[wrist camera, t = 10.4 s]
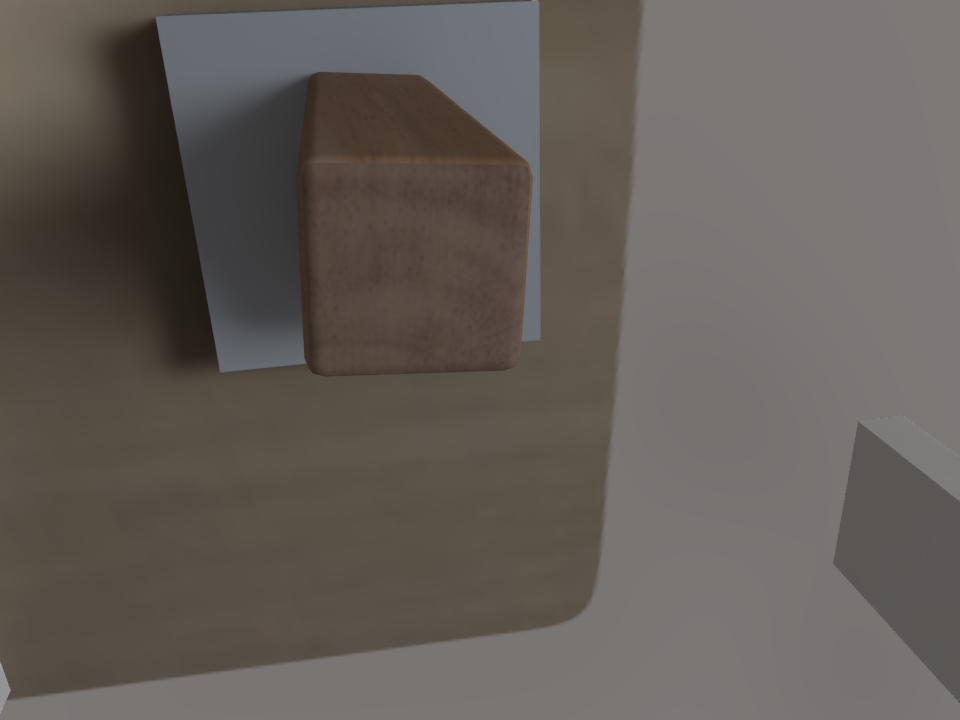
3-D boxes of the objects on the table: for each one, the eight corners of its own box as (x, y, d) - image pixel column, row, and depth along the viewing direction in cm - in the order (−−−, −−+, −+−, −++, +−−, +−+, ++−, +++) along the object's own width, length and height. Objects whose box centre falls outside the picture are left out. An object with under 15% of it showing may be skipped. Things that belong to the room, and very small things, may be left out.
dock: (226, 348, 38) (219, 375, 35) (167, 12, 32) (153, 14, 29) (528, 318, 40) (543, 342, 37) (525, -2, 34) (542, -2, 31)
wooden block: (423, 295, 35) (511, 553, 19) (316, 297, 34) (313, 567, 18) (427, 74, 32) (539, 160, 15) (307, 70, 31) (294, 156, 15)
